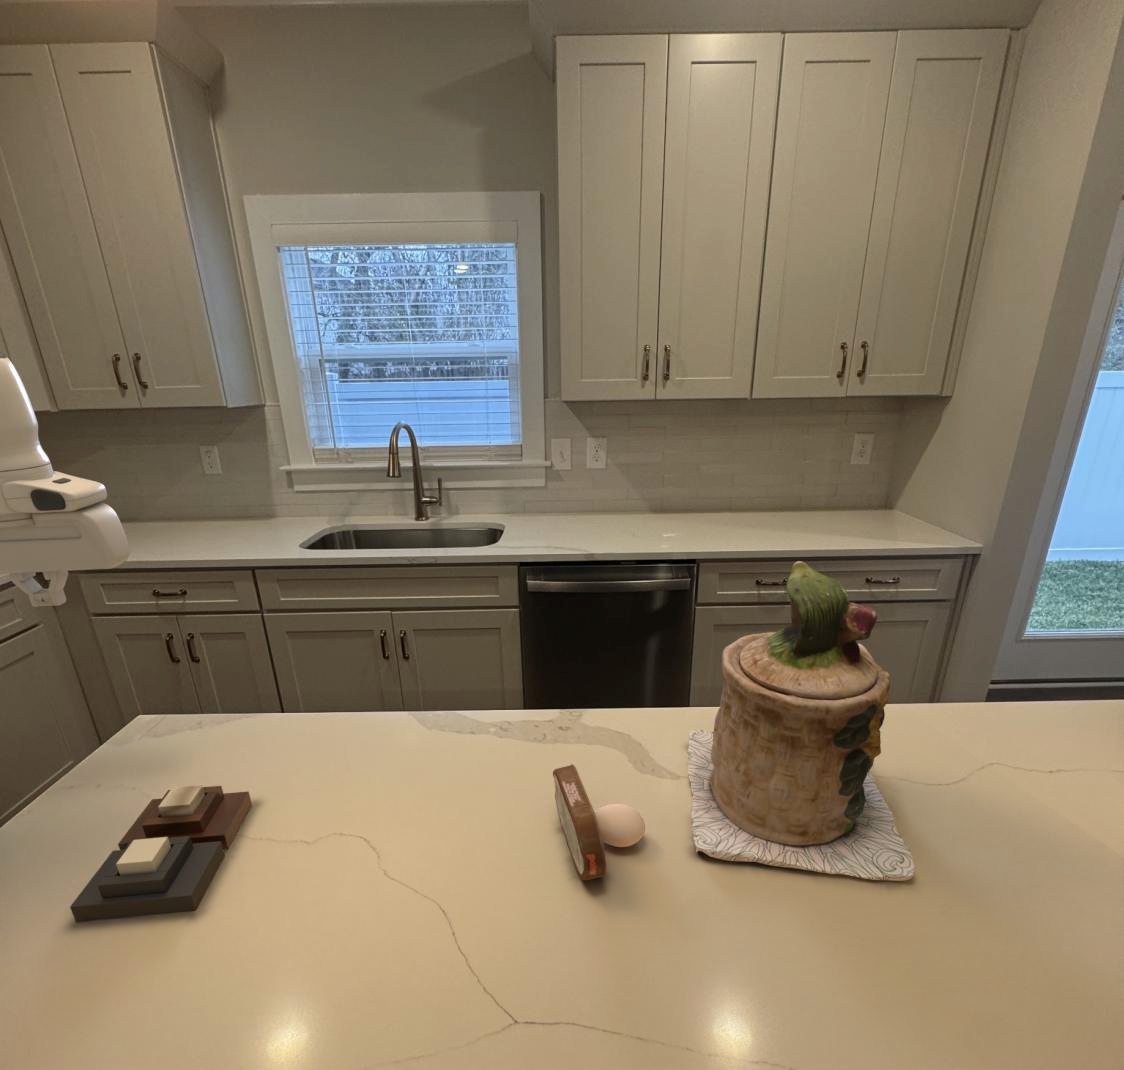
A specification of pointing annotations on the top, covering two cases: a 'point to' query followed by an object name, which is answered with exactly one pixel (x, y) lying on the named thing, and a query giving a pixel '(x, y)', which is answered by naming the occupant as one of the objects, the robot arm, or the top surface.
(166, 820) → the brown push button base
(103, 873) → the dark grey stepped block
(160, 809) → the key
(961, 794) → the top surface
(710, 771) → the cookie jar
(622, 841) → the egg
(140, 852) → the key
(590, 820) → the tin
